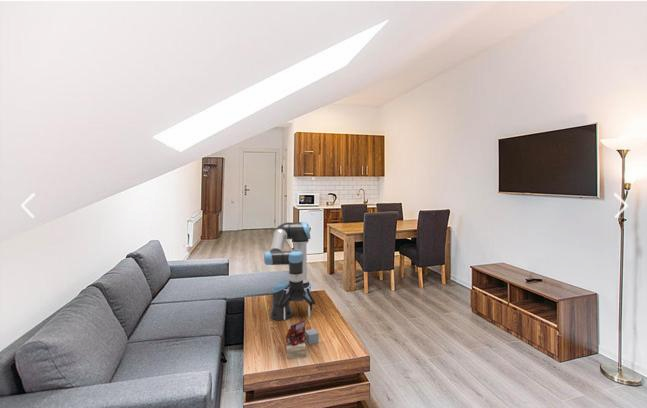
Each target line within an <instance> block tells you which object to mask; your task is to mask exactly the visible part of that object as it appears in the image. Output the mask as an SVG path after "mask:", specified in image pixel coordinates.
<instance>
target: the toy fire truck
mask: <svg viewBox="0 0 647 408" xmlns="http://www.w3.org/2000/svg"><path fill="white" fill-rule="evenodd" d="M305 331H306V321H305V320H302V321H299V322H297V323H294V324H293V325H292V324H291V325H290V328H289V329H288V330H287V333H286V335H285V342H287V343H292V345H294V346H296V345H297V344H298V342H299V341H300V342H302V343H303V342H305V343H306V341H305V340H306V336H305ZM298 339H299V340H298Z"/></svg>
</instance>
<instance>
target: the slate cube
mask: <svg viewBox="0 0 647 408" xmlns="http://www.w3.org/2000/svg"><path fill="white" fill-rule="evenodd" d="M305 336H306V340H305V343H306V344H307V345H308V346H312V345H315V344H319V343H320V338H319V332H318V331H317V329H316V328H311V329H305Z"/></svg>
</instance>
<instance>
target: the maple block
mask: <svg viewBox="0 0 647 408" xmlns="http://www.w3.org/2000/svg"><path fill="white" fill-rule="evenodd" d="M298 340H299V339H298ZM285 342H286V341H285ZM285 346H286V359H298V358H299V359H300V358H306V357H307V348H306V347H307V346H306V341H305V342H303V343H302V342H300V341H299V342H298V344H297V345H296V346H294V345H292V343H287V342H286V344H285Z"/></svg>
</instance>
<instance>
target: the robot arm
mask: <svg viewBox="0 0 647 408" xmlns="http://www.w3.org/2000/svg"><path fill="white" fill-rule="evenodd" d="M286 240H291V244H293V250H287V251H286V250H285V251H284V248H285V247H284V246H285V242H286ZM309 240H311V232H310V225H309V223H308V222H302V221H300V222H298V221H296V222H284V223H282V224H279V225H278V226H277V227H276V228H275V229H274V230H273V232H272V241H271V242H272V243H271V244H270V245H271V247H270V248H269V249H270V250H269V251H265V252H264V256H263V262H264V264H265V265H267V266H279V265H282V266H283V265H284V266H285V265H286V266H287V265H288V269H289V270H288V279H289V281H288V280H281V281H277V282H275V283H274V284H273V285H272V286H271V287H272V290H271V292H272V307H271V310H270V315H269V316H270V319H272V320H275V321H285V320H289V319H290V318H292V317H293V309H292V306H291V304H290V302H304V301H305V302H306V303H307V307H308V308H307V315H308V318H311V312H312V310H313V305H315V304H316V302H315V299H314V298H313V295H312V294H311V289H312V283H311V282H310V280H309V279H308V271H307V270H308V269H307V268H308V267H307V266H308V265H307V264H308V263H307V262H308V261H307V259H308V258H307V244H308V243H309Z"/></svg>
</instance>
